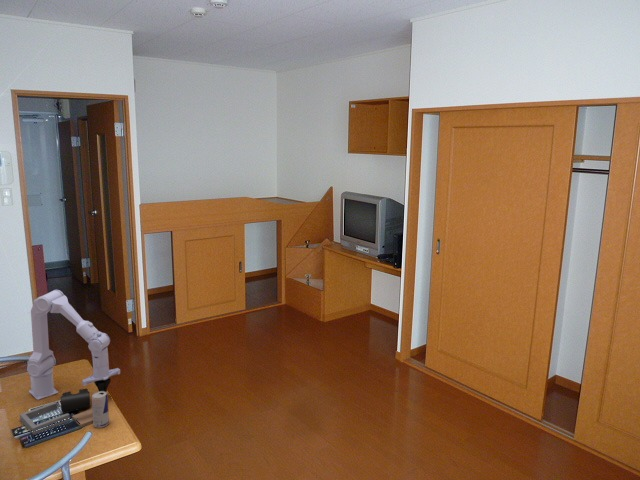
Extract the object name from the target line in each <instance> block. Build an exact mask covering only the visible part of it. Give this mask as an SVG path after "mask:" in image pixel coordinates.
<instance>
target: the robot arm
mask: <svg viewBox="0 0 640 480" xmlns="http://www.w3.org/2000/svg"><path fill="white" fill-rule="evenodd" d="M48 313H51V314H61V315H62V316H63V317H65V319H67V320H68V321H69V322H70V323H72V325H74V326H75V327H76V330H75V331H76V333H77V334H78V335H79V336H80V337H82V338H83V340H85V342H87V343H88V345H87V347H88V350H89V351H90V352H91V359H92V368H93V369H92V372H93V374H91V375H89V376H88V377H86V378H84V379H82V380H81V382H82V386H84V387H86V386H88V385H90V384H92V383H94V385H95V387H97V390H98V391H105V392H106V393H107V391H108V387H109V385H110V383H111V380H112V379H111V378H110V377H113V376H117V375H120V374H121V369H120V368H119V367H117V368H113V369H110V366H109V365H110V364H109V363H110V362H109V351H108V346H109V345H110V343H111V338H110V336H109V335H108V334H107V333H105V332H102V331H99V330H98V329H97V328H96V327H95V326H94V324H93V322H91V321H89V320H84V319H83V318H82V317H81V315H80V314H79V313H78V312H77V310H76V309H75V308H74V307H73V306H72V304H70V303H69V300H68V297H67V296H66V295H65V294H64V293H63V291H61V290H59V289H54V290H52V291H50V292H47V293H46V294H43V295H41V296H38V297H37V298H35V299H34V300H33V305H32V307H31V309H30V319H31V334H32V348H33V349H32V350H33V351H32V354H31V355H30V357H29V358H28V363H27V366H26V370H27V373H28V375H29V376H30V388H31V389H29V391H28V392H29V394H30V395H32V397H34V398H35V400H37V401H38V400H41V399H44V398H45V399H46V398H47V397H50V396H53V395H56V394H59V391H58V390H57V389H56V388H55V386H54V374H53V373H54V372H53V370H54V367H55V366H56V363H57V361H56V358H55V355H54V351H53V350H51V349H50V344H49V343H50V341H49V340H50V339H49V326H48Z"/></svg>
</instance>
